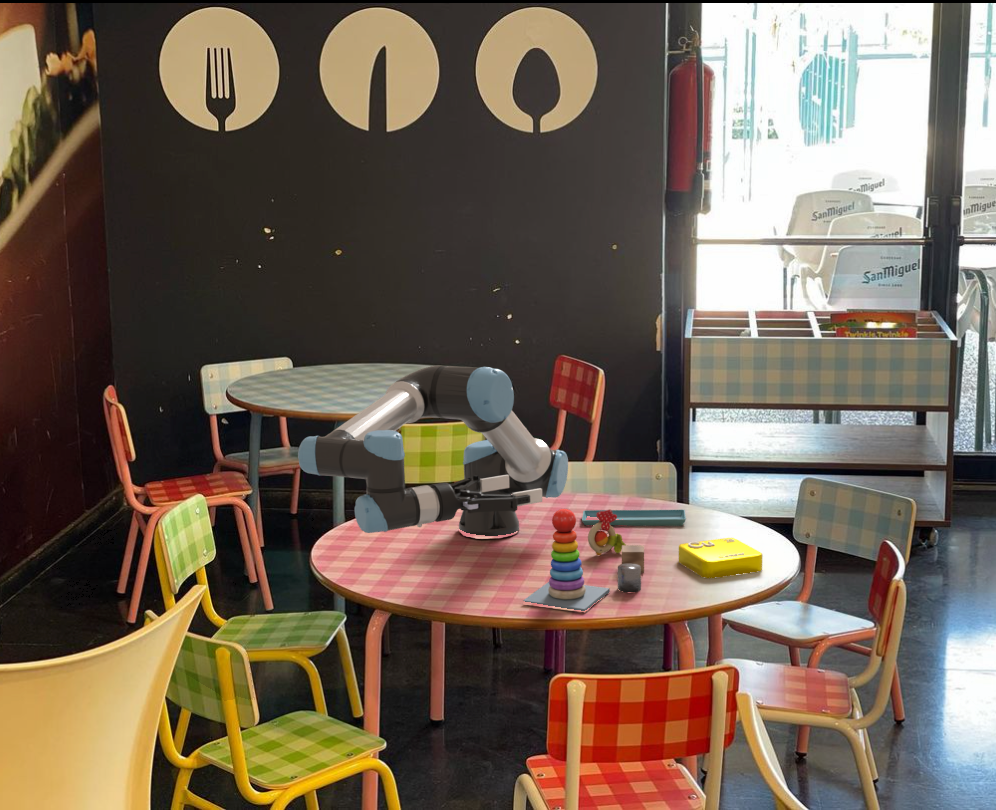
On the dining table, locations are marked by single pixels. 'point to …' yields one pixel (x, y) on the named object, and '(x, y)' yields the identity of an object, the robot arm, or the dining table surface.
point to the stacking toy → (565, 559)
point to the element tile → (720, 557)
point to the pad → (577, 604)
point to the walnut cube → (633, 555)
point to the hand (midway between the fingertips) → (524, 487)
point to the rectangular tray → (641, 517)
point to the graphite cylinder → (629, 577)
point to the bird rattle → (604, 534)
